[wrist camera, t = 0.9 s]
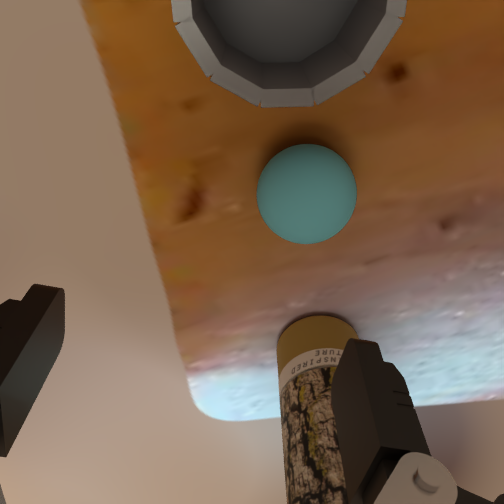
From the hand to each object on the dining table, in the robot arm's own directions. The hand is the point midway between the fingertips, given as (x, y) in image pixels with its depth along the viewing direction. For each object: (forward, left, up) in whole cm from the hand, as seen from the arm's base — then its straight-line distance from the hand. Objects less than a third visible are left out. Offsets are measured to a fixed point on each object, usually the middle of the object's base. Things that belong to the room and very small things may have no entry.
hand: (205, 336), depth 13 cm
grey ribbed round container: (+1, -8, -19) cm, 21 cm away
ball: (-6, +1, -16) cm, 17 cm away
